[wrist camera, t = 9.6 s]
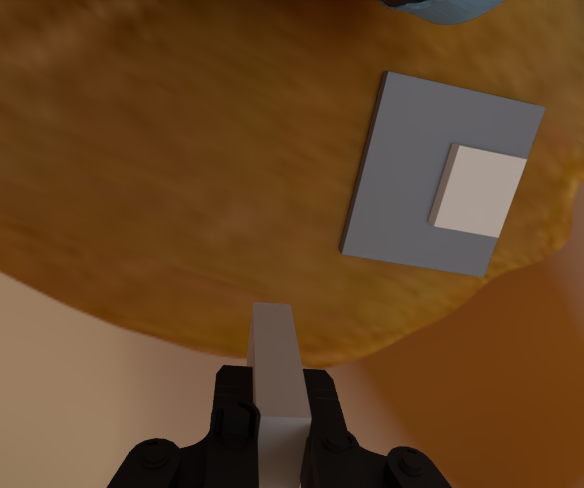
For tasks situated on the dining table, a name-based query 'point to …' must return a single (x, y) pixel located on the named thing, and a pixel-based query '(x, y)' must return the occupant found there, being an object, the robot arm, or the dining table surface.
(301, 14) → the dining table surface
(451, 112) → the board
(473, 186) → the tile
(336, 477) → the robot arm
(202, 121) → the dining table surface
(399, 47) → the dining table surface
